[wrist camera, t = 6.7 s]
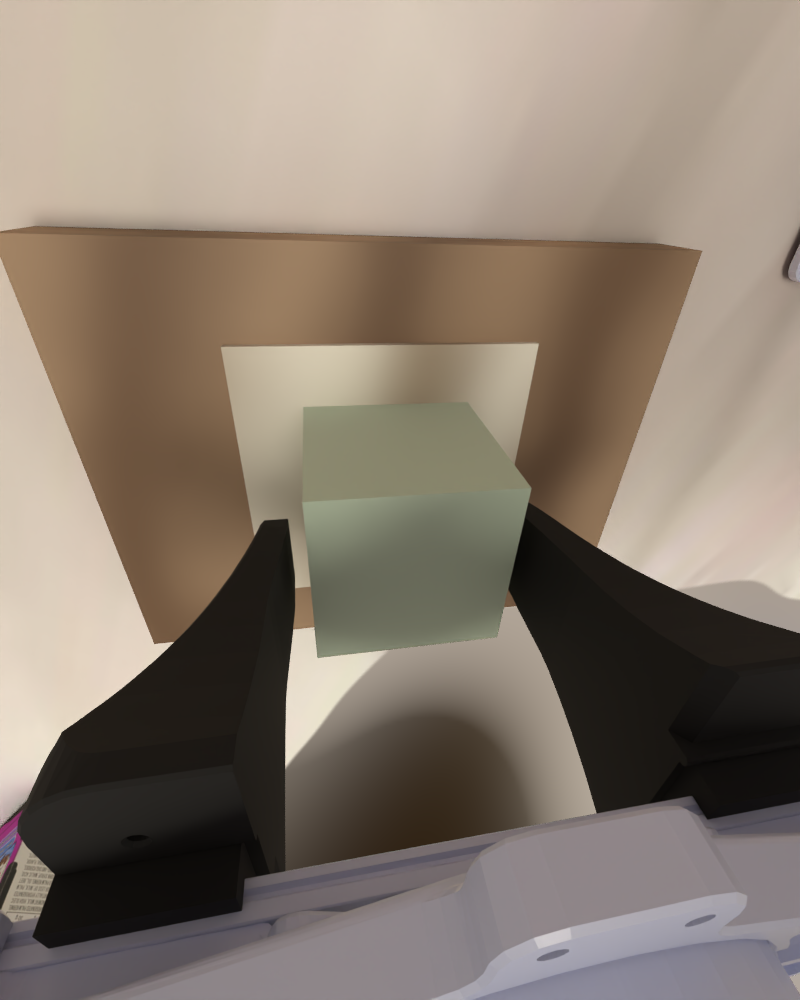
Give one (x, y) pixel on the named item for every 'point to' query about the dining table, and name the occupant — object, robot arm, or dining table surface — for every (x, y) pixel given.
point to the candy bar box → (21, 875)
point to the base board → (327, 372)
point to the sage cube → (407, 525)
